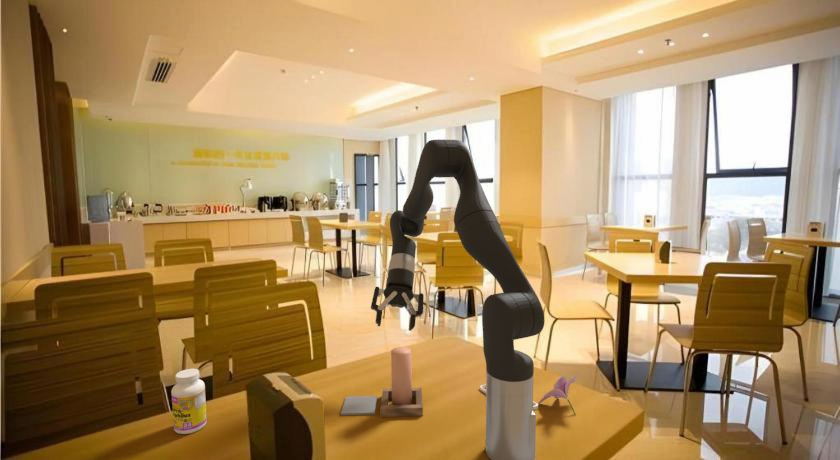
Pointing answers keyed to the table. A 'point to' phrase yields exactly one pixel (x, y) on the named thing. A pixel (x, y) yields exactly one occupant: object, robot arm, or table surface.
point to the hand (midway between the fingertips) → (394, 327)
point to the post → (401, 376)
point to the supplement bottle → (188, 402)
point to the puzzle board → (401, 409)
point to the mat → (359, 405)
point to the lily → (560, 389)
